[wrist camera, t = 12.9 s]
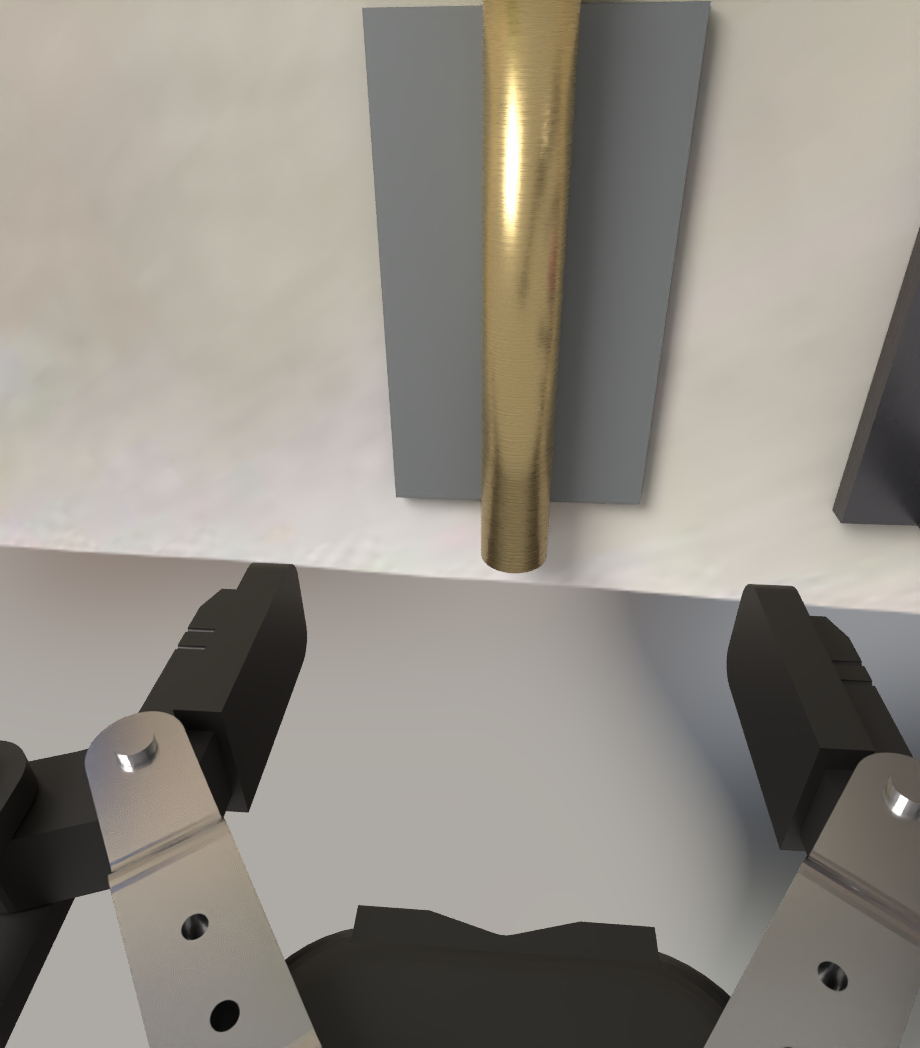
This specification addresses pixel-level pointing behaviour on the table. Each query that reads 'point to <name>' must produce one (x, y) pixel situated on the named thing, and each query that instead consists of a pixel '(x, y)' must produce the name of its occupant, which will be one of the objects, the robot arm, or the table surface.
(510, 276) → the rail
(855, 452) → the hook stand
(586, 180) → the mat
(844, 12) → the table surface
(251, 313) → the table surface
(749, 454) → the table surface
